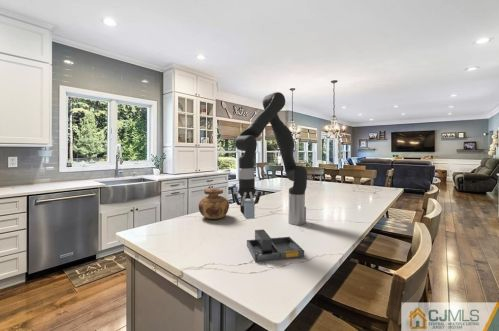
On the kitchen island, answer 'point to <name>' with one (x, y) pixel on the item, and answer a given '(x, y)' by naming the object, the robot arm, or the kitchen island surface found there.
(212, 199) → the clay pot
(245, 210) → the panel
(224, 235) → the kitchen island surface
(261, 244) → the dark grey tray
